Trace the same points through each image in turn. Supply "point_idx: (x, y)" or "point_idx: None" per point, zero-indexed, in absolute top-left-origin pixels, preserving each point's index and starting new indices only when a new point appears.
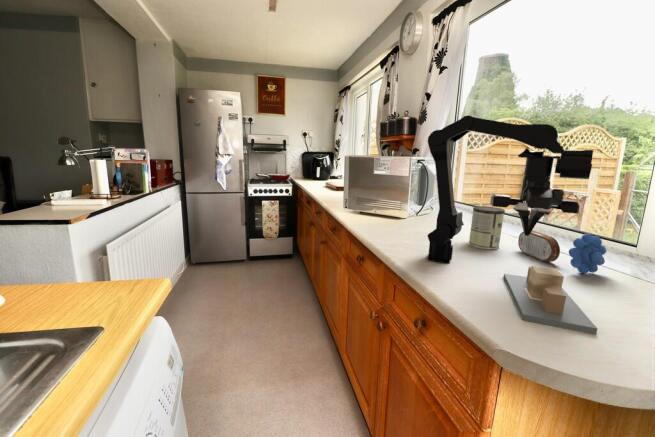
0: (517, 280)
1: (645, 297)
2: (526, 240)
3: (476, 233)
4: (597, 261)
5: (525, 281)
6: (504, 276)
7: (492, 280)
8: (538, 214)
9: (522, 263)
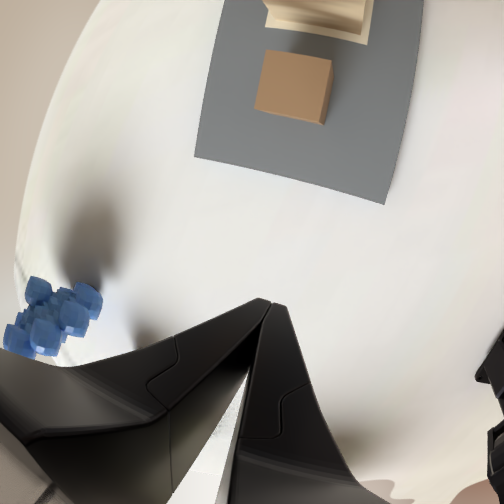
0: (360, 125)
1: (37, 153)
2: None
3: None
4: (44, 280)
5: (328, 121)
6: (388, 185)
7: (440, 162)
8: (52, 396)
9: None
